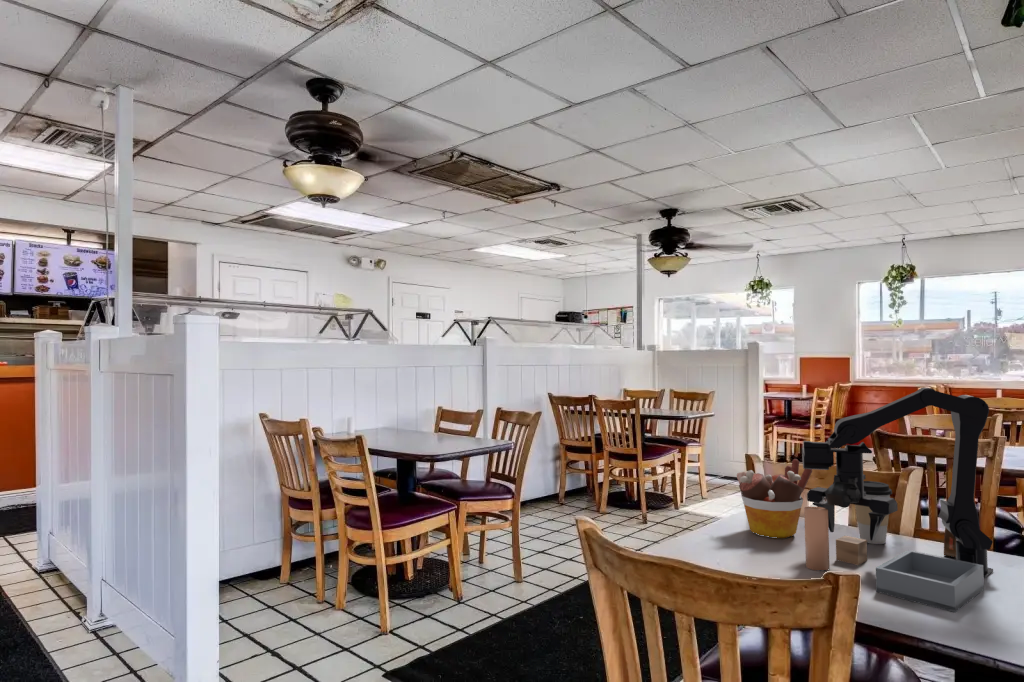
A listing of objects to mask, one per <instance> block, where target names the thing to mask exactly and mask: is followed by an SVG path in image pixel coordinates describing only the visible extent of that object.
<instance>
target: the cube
mask: <svg viewBox="0 0 1024 682" xmlns="http://www.w3.org/2000/svg"><path fill="white" fill-rule="evenodd" d="M835 552H836V553H835V555H836V557H835V558H836V559H835V560H836V561H838V560H839V562H842V561H843V562H842V563H847V564H852V565H856V566H860V565H862V564H864V563H866V562H868V543H867V540H864V539H860V537H856V536H855V537H854V536H848V535H843V536H840V537H838V538H836V539H835Z"/></svg>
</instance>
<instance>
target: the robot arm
mask: <svg viewBox="0 0 1024 682" xmlns="http://www.w3.org/2000/svg"><path fill="white" fill-rule="evenodd" d="M930 406H931V407H936V408H937V409H943V410H945V411H947V412H950V416H951V421H952V425H953V429H954V433H955V438H954V450H953V451H954V452H953V461H952V462H953V464H952V478H951V488H950V494H949V497H948V499H946V500H945V499H940V500H939V502H940V503H939V505H940V511H939V514H938V518H940V519H941V523H942V525H943V526H944V528H945V527H946V528H947V529H948V530H949V531H950V532H951V533H952V534H953V536H954V538H956V539H957V541H956V557H955V558H956V559H955V560H960V561H965V562H970V563H975V564H980V565H983V574H984V578H986V577H988V576H989V575H990V574H991V573H993V572H994V568H991V567H988V564H989V563H988V551H989V550H991V547H992V544H993V543H994V542H993V540H992V538H990V537H989V536H988V535H987V534H985V533H984V532H983V531H982V530H981V529H980V528H981V527H980V520H979V513H978V510H977V506H976V502H975V488H976V475H977V462H978V451H979V449H978V448H979V438H980V436H981V433H982V431H983V430H984V428H985V426H986V423H987V420H988V416H989V413H990V408H989V407H990V406H989V405H988V403H987V402H986V401H985V400H984V399H983V398H981V397H977V396H973V395H968V394H962V395H957V396H956V395H952V394H948V393H944V392H942V391H938V390H935V389H934V388H931V387H921V388H919V389H917V390H916V391H914V392H912V393H910V394H907V395H904V396H902V397H901V398H898V399H896V400H894V401H891V402H889V403H887V404H884V405H883V406H879V407H877V408H876V409H875V408H874V409H873V410H870V411H868V412H864V413H859V414H854V415H850V416H847V417H845V416H844V417H843V418H840V419H838V420H837V421H836V422H835V424H834V427H833V429H834V431H833V432H832V434H831V435H830V436H829V437H828V438H827V440H826V441H822V442H821V441H810V440H803V442H802V443H803V447H802V450H803V451H802V452H801V454H802V455H801V457H802V458H801V459H802V468H803V470H804V469H812V470H818V471H819V470H820V471H821V470H822V471H828V470H830V468H832V467H834V465H836V466H835V467H836V468H835V469H836V474H834V476H833V483H832V484H831V485H830V486H828V488H826V487H820V486H817V487H814V488H810V489H809V490H808V491H807V493H806V500H807V502H811V503H812V505H813V506H814V507H822V508H826V509H828V527H829V533H834V531H835V520H836V519H835V506H836V507H840V508H843V509H844V508H849V506H851V505H854V506H855V505H860V506H867V507H869V508H870V509H871V510H872V512H870V513H868V514H869V516H870V540H874V538H875V536H876V534H877V531H878V529H879V527H880V525H881V522H882V521H883V519H884V517H885V516H886V515H889V516H890V515H891V514H893V513H896V512H898V511H899V510H898V502H897V500H896V499H895V498H893V497H890V498H887V497H880V496H878V497H875V498H872V499H867V498H864V497H865V496H866V492H864V482H863V481H865V480H866V474H864V456H863V455H864V454H872V453H873V450H872V449H870V448H869V447H868V446H867V445H866V443H865V442H864V441H862V440H864V439H866V438H867V437H869V436H870V435H871V434H872V433H874V432H875V431H876V430H877V429H878V430H879V428H881V427H882V426H885V425H887V424H889V423H892V422H895V421H897V420H898V419H901V418H903V417H906V416H908V415H910V414H913V413H916V412H918V411H920V410H922V409H925V408H927V407H930ZM861 441H862V442H861ZM859 442H860V444H858V445H857V443H859ZM842 447H844V448H842ZM834 453H835V456H834ZM834 458H835V460H834ZM834 463H835V464H834ZM858 501H859V502H858Z"/></svg>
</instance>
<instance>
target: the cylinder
mask: <svg viewBox="0 0 1024 682" xmlns="http://www.w3.org/2000/svg"><path fill="white" fill-rule="evenodd" d="M803 511H804V514H803V515H804V541H805V542H804V544H805V545H804V547H805V568H807V569H809V570H812V571H816V570H826V571H825V572H827V571H829V570H830V568H831V566H830V536H829V535H830V534H829V533H830V530H829V527H828V509H826V508H822V507H817V506H805V507H804V510H803ZM828 569H829V570H828Z"/></svg>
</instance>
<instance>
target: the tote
mask: <svg viewBox="0 0 1024 682" xmlns="http://www.w3.org/2000/svg"><path fill="white" fill-rule="evenodd" d="M984 581H985V577H984V574H983V565H980V564H975V563H970V562H965V561H960V560H956V559H955V558H949V557H947V556H945V557H944V556H939V555H937V554H930V553H925V552H921V551H917V550H911V549H908V550H906V551H904V552H902V553H899V554H898V555H896V556H895V557H893V558H891V559H889V560H887V561H886V562H884V563H883V562H882V564H880V565H879V566H877V567H876V566H875V586H876V587H875V589H876V590H875V591H876V593H878V594H879V593H880V594H882V595H887V596H892V597H895V598H897V599H902V600H906V601H909V602H914V603H917V604H922V605H925V606H929V607H931V608H932V607H933V608H937V609H940V610H944V611H947V612H948V611H949V612H952V613H956V612H958V611H959V610H960V609H962V608H963V607H964V606H965V605H967V602H968V603H969V602H971V600H973V599H974V598H975V597H976V596H978V595H979V594H980V593H981V592H982V590H983V591H984V590H985V582H984ZM977 594H978V595H977ZM972 598H973V599H972Z"/></svg>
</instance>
